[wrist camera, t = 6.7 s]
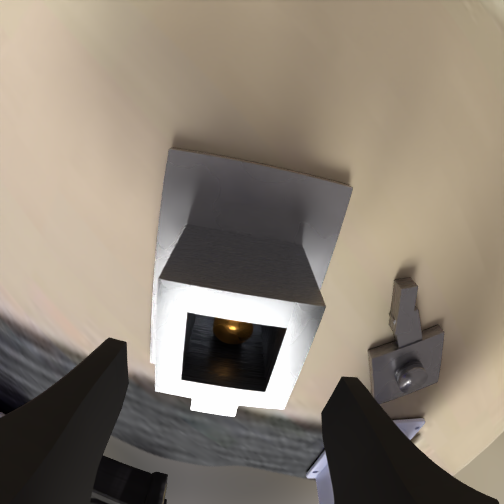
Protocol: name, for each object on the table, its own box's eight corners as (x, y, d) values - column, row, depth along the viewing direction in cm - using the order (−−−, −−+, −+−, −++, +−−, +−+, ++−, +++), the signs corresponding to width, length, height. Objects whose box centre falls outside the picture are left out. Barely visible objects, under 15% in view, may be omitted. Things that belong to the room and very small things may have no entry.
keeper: (280, 383, 19) (285, 428, 15) (152, 361, 18) (138, 405, 15) (348, 185, 14) (378, 207, 10) (172, 147, 13) (147, 158, 10)
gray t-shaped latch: (433, 374, 19) (443, 391, 17) (371, 397, 20) (378, 416, 18) (440, 263, 15) (456, 279, 14) (360, 290, 16) (371, 309, 14)
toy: (171, 457, 22) (-67, 348, 20) (159, 526, 16) (-96, 387, 13) (166, 505, 31) (-15, 431, 28) (159, 547, 25) (-31, 463, 22)
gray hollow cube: (275, 335, 16) (283, 409, 12) (176, 319, 16) (155, 391, 11) (302, 245, 14) (325, 306, 10) (187, 224, 14) (158, 278, 9)
